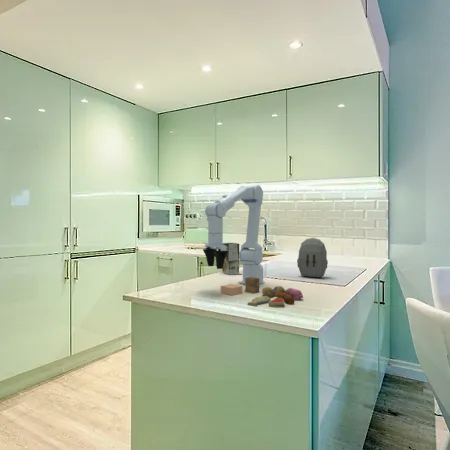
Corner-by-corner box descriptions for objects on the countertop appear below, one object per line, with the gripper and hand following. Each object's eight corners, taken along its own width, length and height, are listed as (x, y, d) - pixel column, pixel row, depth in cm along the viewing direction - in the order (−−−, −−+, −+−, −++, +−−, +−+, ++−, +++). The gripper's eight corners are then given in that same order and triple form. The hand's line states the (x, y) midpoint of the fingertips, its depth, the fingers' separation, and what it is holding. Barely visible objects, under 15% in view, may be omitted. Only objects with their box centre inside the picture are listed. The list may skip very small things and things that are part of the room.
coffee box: (239, 274, 184) (239, 243, 184) (228, 275, 182) (228, 243, 181) (232, 271, 193) (233, 242, 192) (221, 272, 190) (222, 242, 190)
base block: (231, 291, 143) (231, 284, 143) (242, 293, 139) (242, 286, 139) (220, 293, 139) (220, 286, 139) (231, 296, 135) (231, 288, 135)
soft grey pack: (328, 277, 179) (329, 237, 178) (325, 279, 171) (326, 238, 171) (298, 274, 185) (299, 236, 185) (295, 277, 177) (295, 237, 177)
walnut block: (251, 290, 145) (251, 276, 144) (259, 291, 142) (259, 278, 142) (245, 291, 142) (245, 278, 142) (252, 293, 139) (253, 279, 139)
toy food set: (267, 292, 143) (267, 282, 143) (308, 296, 137) (308, 286, 137) (246, 306, 120) (246, 295, 120) (294, 312, 113) (294, 300, 113)
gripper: (198, 232, 144) (198, 265, 144) (214, 234, 131) (214, 270, 132) (213, 232, 147) (213, 264, 148) (231, 234, 135) (230, 269, 135)
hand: (215, 267), depth 140 cm, fingers open, 7 cm apart
